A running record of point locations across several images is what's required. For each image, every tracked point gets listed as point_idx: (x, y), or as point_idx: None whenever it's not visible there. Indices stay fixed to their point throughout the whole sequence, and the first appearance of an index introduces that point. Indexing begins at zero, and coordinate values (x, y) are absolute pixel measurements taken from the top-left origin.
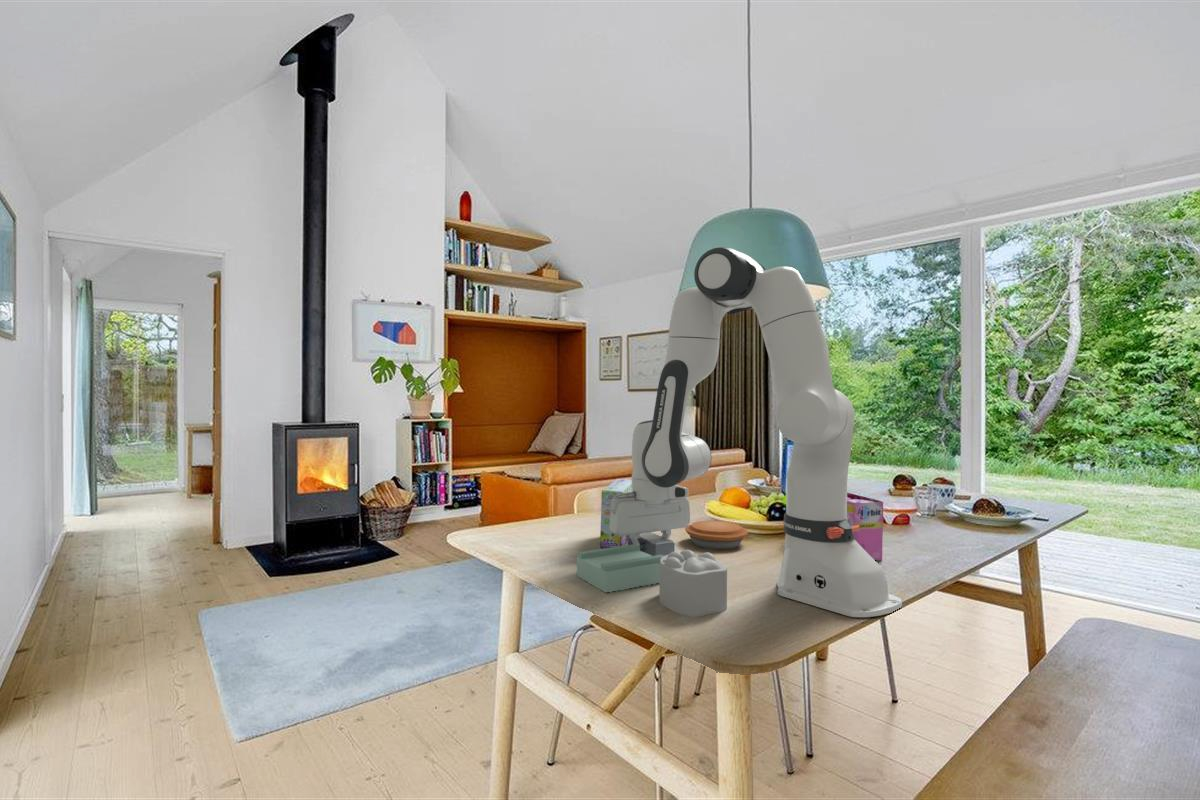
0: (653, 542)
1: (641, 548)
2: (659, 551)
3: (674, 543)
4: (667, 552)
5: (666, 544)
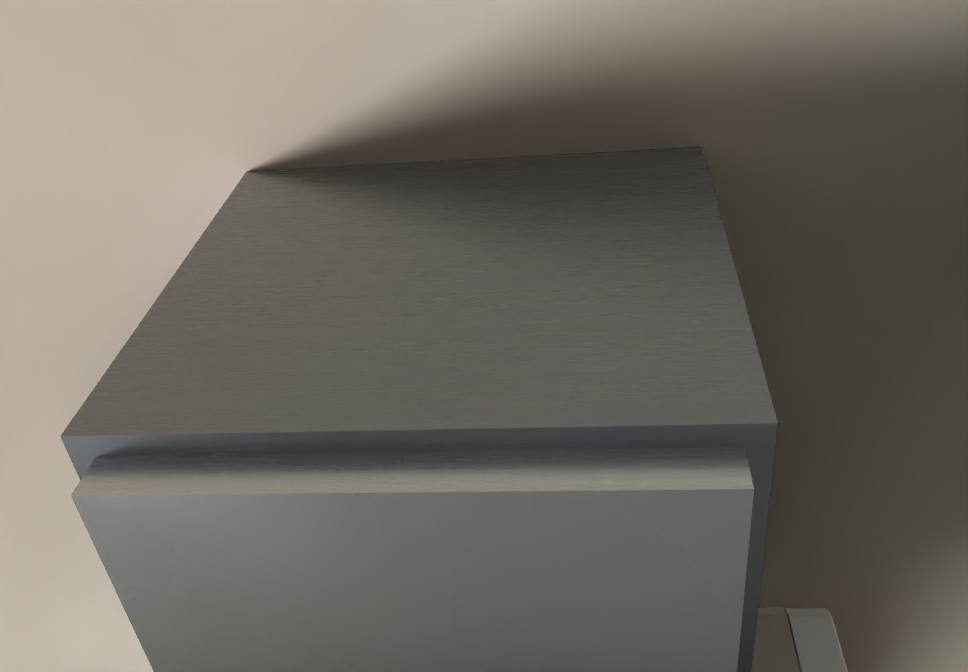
0: (742, 588)
1: (755, 668)
2: (612, 311)
3: (73, 421)
4: (365, 289)
5: (358, 419)
